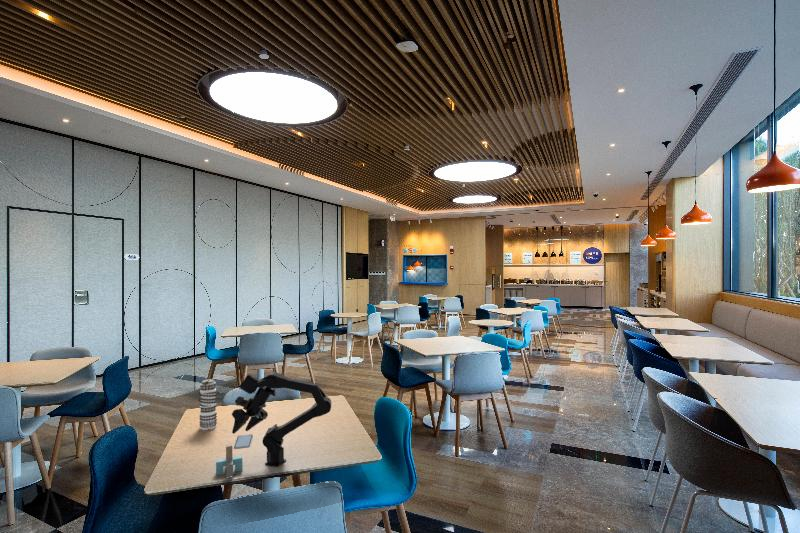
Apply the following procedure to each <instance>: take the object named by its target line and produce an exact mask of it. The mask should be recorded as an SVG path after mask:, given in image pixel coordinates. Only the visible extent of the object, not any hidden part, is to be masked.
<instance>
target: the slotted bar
mask: <svg viewBox="0 0 800 533" xmlns="http://www.w3.org/2000/svg"><path fill="white" fill-rule="evenodd" d="M225 475H226V477H230V476H233V477H234V465H233V461H228V462H226V466H225ZM230 478H231V477H230Z"/></svg>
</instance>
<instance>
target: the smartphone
mask: <svg viewBox="0 0 800 533" xmlns="http://www.w3.org/2000/svg"><path fill="white" fill-rule="evenodd" d="M253 436H254V434H253V433H251V434H243V435H237V437H236V440H235V443H234V445H233V449H244V448H250V447H251V444H252V440H253Z"/></svg>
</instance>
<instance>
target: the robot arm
mask: <svg viewBox="0 0 800 533" xmlns="http://www.w3.org/2000/svg"><path fill="white" fill-rule="evenodd" d="M238 389H240V390H241V391H243V392H244V393H247V394H248V395H253V394H254V395H253V397H250V398H247V397H245V396H241V395H240V396H237V398H236V399H235V400H234V403H235V405H236V406H237V407H238V406H239V407H243V408H237V409H233V411H232V413H231V416H232V418H234V423H233V427H232V432H231V433H232V434H235V433H237V432H238V431H240V429H241V428H242V427H244V426H245V424H247V425H246V426H245V427H246V428H245V429H244V430H245V432H249V431H250V430H251V429H253V428H254V427H255V426H257V425H258V424H260V423H261V422H263V421H264V420H267V417H268V416H269V414H268V412H267V411H266V410H265V409H264V408H266V406H267V404H266V403H267V401H268V400H269V398H270V397H271V396H272V397H275V396H276V395H277V390H276V389H288V390H293V391H297V392H298V391H299V392H303V393H308V394H311V396H312V397H313V399H314V402H315V403H314V404H313V405H312V406H311V407H310V408H308V409H307V410H305V411H303V412H302V413H301V414H299V415H296V416H295V417H293V419H291V420H289V421H287V422H286V423H283V424H282V425H279V426H278V424H277V423H275V424H274V425H273V426H272V427H271V426H270V427H268V429H267V431H266V432H265V434H264V436H263V437H262V445H263V446H264V447H265V448H266V450H267V451H266V462H265V463H264V465H266V466H272V467H279V466H280V465H282V464H283V463H286V461H287V459H286V458H285V448H284V447H283V446H282V445H283V444H284V441H285V440H284V437H285V436H287V435H289V433H291V432H294V431H295V430H296V429H297V428H300V427H301V426H303V425H305V424H306V423H307V422H309V421H311V420H312V419H314V418H318V417H322V416H324V415H326V414H328V413H330V412H331V409H332V400H331V398H330V397H328V396H326V394H325V392H324V391H323V390H322V389H321V387H320V385H319V384H318V383H316V382H315V383H314V382H309V381H305V380H300V379H299V380H298V379H294V378H291V377H286V376H285V375H283V374H281V373H279V372H277V371H271V372H269V373H268V374H267V375H266V376H265V377H262V378H260V379H258V378H256V377H254V376H253V375H252V374H249V373H248V374H247V375H246V376H245V378H244V380H243V381H242V382H241V383H240V385H239V387H238ZM257 389H258V390H257ZM255 392H256V393H255ZM247 422H248V423H247Z"/></svg>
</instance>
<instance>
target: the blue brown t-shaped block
mask: <svg viewBox="0 0 800 533" xmlns="http://www.w3.org/2000/svg"><path fill="white" fill-rule="evenodd" d="M228 461H233V466H234V470H235V472H236V473H237V472H239V471H240V470H241V471H243V456H242V455H239V456H233V444H226V445H225V458H221V459H215V475H216V476H219V475H224V467H225V468H226V462H228ZM218 474H219V475H218Z"/></svg>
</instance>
